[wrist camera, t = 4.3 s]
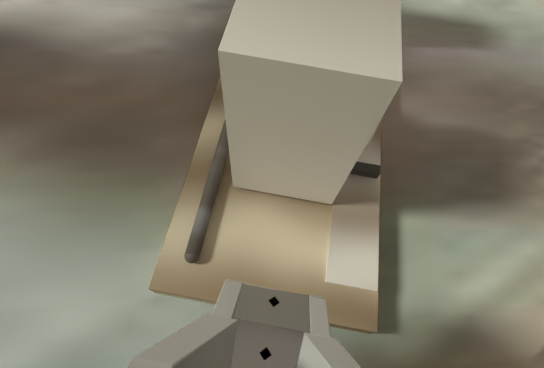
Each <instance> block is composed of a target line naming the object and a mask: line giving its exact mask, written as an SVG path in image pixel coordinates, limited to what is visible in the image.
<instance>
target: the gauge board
mask: <svg viewBox="0 0 544 368" xmlns="http://www.w3.org/2000/svg"><path fill="white" fill-rule="evenodd" d="M381 126H382V118H381V120H380V122H379V125H378V128H377V130H376V132H375V134H374V136H373V138H372V140H371V141H370V143H369V144H368V145H367V146H365V148H364V149H363V151H362V153H361V155H360V156H359V158H358V160H357V161H358V162H363V163H369V164H375V165H380V166H381ZM380 178H381V169H380V175H379V177H378V178H377V179H376V178H371V177H365V176H359V175H354V174H349V175H348V177H347V179H346V181H345V182H344V184H343V186H342V188H341V189H340V191H339V193H338V194H337V196H336V198H335V200H334V201H333V203H332V204H326V203H321V202H315V201H309V200H304V199H298V198H293V197H287V196H282V195H276V194H271V193H265V192H260V191H254V190H249V189H243V188H238V187H233V183H232V174H231V165H230V156H229V147H228V138H227V129H226V120H225V111H224V102H223V93H222V84H221V75H220V77H219V80H218V83H217V86H216V89H215V92H214V95H213V98H212V101H211V104H210V107H209V110H208V113H207V116H206V119H205V122H204V125H203V128H202V131H201V134H200V137H199V140H198V143H197V146H196V149H195V152H194V155H193V158H192V161H191V164H190V167H189V170H188V173H187V176H186V179H185V182H184V185H183V188H182V191H181V194H180V197H179V200H178V203H177V206H176V209H175V212H174V215H173V218H172V221H171V224H170V227H169V229H168V232H167V235H166V238H165V241H164V244H163V247H162V250H161V253H160V256H159V259H158V262H157V265H156V268H155V271H154V274H153V277H152V280H151V283H150V286H149V289H150V290H151V291H153V292H155V293H158V294H163V295H169V296H174V297H179V298H184V299H190V300H195V301H200V302H205V303H211V304H216V303H217V300H218V297H219V295H220V292H221V290H222V287H223V284H224V282H225V280H226V279H231V280H236V281H241V282H246V283H251V284H256V285H260V286H265V287H270V288H274V289H278V290H283V291H289V292H294V293H300V294H306V295H314V296H321V297H325V298H326V302H327V310H328V318H329V326H332V327H337V328H342V329H347V330H353V331H358V332H363V333H377V332H378V282H379V230H380Z"/></svg>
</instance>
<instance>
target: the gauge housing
mask: <svg viewBox="0 0 544 368" xmlns="http://www.w3.org/2000/svg"><path fill="white" fill-rule="evenodd" d="M218 57H219V66H220V75H221V84H222V93H223V102H224V111H225V120H226V129H227V138H228V147H229V156H230V165H231V174H232V183H233V187H238V188H243V189H249V190H254V191H260V192H265V193H271V194H276V195H282V196H287V197H293V198H298V199H304V200H309V201H315V202H321V203H326V204H332V203H333V201H334V200H335V198H336V196H337V194H338V193H339V191H340V189H341V188H342V186H343V184H344V182H345V181H346V179H347V177H348V175H349V174H354V175H359V176H365V177H371V178H376V179H377V178H378V177H379V175H380V169H381V166H380V165H375V164H369V163H363V162H358V161H357V160H358V158H359V156H360V155H361V153H362V151H363V149H364V148H365V146H367V145H368V144H369V143H370V141H371V140H372V138H373V136H374V134H375V132H376V130H377V128H378V125H379V122H380V120H381V118H382V117H383V115H384V113H385V111H386V110H387V108H388V106H389V104H390V103H391V101H392V99H393V98H394V96H395V94H396V92H397V91H398V89H399V87H400V85H401V84H402V82H403V81H402V30H401V0H235V3H234V6H233V9H232V12H231V15H230V17H229V20H228V23H227V26H226V29H225V31H224V34H223V37H222V40H221V43H220V46H219V48H218Z"/></svg>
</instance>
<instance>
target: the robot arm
mask: <svg viewBox="0 0 544 368" xmlns="http://www.w3.org/2000/svg"><path fill="white" fill-rule="evenodd" d="M127 368H361V367H360V366H359V364H358V363H357V362H356V361H355V360H354V359H353V358H352V356H351V355H350V354H349V353H348V352H347V351H346V349H345V348H344V347H343V346H342V345H341V344H340V343H339V341H338V340H337V339H336V338H331V334H330V326H329V318H328V310H327V302H326V298H325V297H321V296H314V295H306V294H300V293H294V292H289V291H283V290H278V289H274V288H270V287H265V286H260V285H256V284H251V283H246V282H241V281H236V280H231V279H226V280H225V282H224V284H223V287H222V290H221V292H220V295H219V297H218V300H217V303H216V305H215V308H214V310H213V313H212V314H205V315H204V316H202V317H200V318H199V319H197V320H195V321H194V322H192V323H190V324H189V325H187V326H185V327H184V328H182V329H180V330H179V331H177V332H175V333H174V334H172V335H170V336H169V337H167V338H165V339H164V340H162V341H160V342H159V343H157V344H155V345H154V346H152V347H150V348H149V349H147V350H145V351H144V352H142V353H140V354H139V355H137V356H135V357H134V358H133V359H132V361H131V362H130V364H129V366H128V367H127Z"/></svg>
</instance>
